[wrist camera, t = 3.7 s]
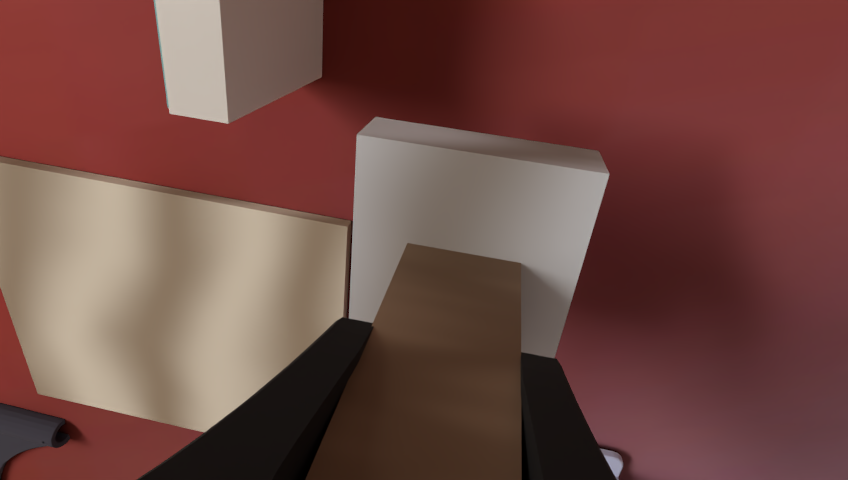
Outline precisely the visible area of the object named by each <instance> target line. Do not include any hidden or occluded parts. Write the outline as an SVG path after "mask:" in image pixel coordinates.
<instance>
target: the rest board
mask: <svg viewBox="0 0 848 480" xmlns="http://www.w3.org/2000/svg"><path fill="white" fill-rule="evenodd" d="M350 241H351V221H349V220H344V219H338V218H333V217H328V216H322V215H317V214H311V213H306V212H300V211H295V210H289V209H284V208H279V207H273V206H268V205H262V204H257V203H251V202H246V201H241V200H235V199H230V198H224V197H219V196H213V195H208V194H203V193H197V192H192V191H186V190H181V189H175V188H170V187H164V186H159V185H154V184H148V183H143V182H137V181H132V180H126V179H121V178H116V177H110V176H105V175H99V174H94V173H88V172H83V171H77V170H72V169H67V168H61V167H56V166H50V165H45V164H39V163H34V162H29V161H23V160H18V159H12V158H7V157H1V156H0V287H1V290H2V293H3V296H4V299H5V302H6V304H7V307H8V310H9V313H10V316H11V319H12V321H13V324H14V327H15V330H16V333H17V336H18V338H19V341H20V344H21V347H22V350H23V353H24V356H25V358H26V361H27V364H28V367H29V370H30V373H31V375H32V378H33V381H34V384H35V387H36V390H37V392H38V394H41V395H46V396H50V397H54V398H59V399H63V400H67V401H72V402H76V403H80V404H84V405H89V406H93V407H97V408H102V409H106V410H110V411H115V412H119V413H123V414H128V415H132V416H136V417H141V418H145V419H149V420H154V421H158V422H162V423H166V424H171V425H175V426H179V427H184V428H188V429H192V430H197V431H201V432H206V431H207V430H208V429H210V428H211V427H212V426H214V425H215V424H216V423H218V422H219V421H220V420H222V419H223V418H224V417H225V416H227V415H228V414H229V413H231V412H232V411H233V410H235V409H236V408H237V407H238V406H240V405H241V404H242V403H244V402H245V401H246V400H247V399H249V398H250V397H251V396H252V395H254V394H255V393H256V392H257V391H258V390H259V389H261V388H262V387H263V386H264V385H265V384H267V383H268V382H269V381H270V380H271V379H272V378H274V377H275V376H276V375H277V374H278V373H280V372H281V371H282V370H283V369H284V368H285V367H287V366H288V365H289V364H290V363H291V362H292V361H293V360H295V359H296V358H297V357H298V356H299V355H300V354H301V353H302V352H303V351H305V350H306V349H307V348H308V347H309V346H310V345H311V344H312V343H313V342H314V341H315V340H316V339H318V338H319V337H320V336H321V335H322V334H323V333H324V332H325V331H326V330H327V329H328V328H329V327H330V326H331V325H332V324H333V323H334V322H335V321H337V320H338V319H340V318H342V317H344V318H347V299H348V279H349V260H350Z"/></svg>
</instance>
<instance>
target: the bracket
mask: <svg viewBox="0 0 848 480" xmlns="http://www.w3.org/2000/svg"><path fill="white" fill-rule="evenodd" d="M63 424H65V419H62V418H58V417H54V416H50V415H46V414H42V413H38V412H34V411H30V410H26V409H23V408H19V407H15V406H11V405H7V404H3V403H0V480H1V474H2V471H3V468H4V466H5V464H6V462H7V461H8V460H9V459H10V458H12V457H13V456H15V455H16V454H18V453H20V452H23V451H25V450H29V449H32V448H37V447H43V446H50V447H55V448H58V447H61V446H63V445H64V444H66V443H67V442H68V440H69V439H70V436H69V435H68V434H65V433H61V432H57V431H58V430H59V428H60V427H61V426H62V425H63Z"/></svg>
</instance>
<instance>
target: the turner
mask: <svg viewBox="0 0 848 480" xmlns="http://www.w3.org/2000/svg"><path fill="white" fill-rule="evenodd" d="M608 178H609V172H608V170H607V168H606V165H605V163H604V161H603V159H602V157H601V155H600V152H599V151H596V150H590V149H583V148H577V147H570V146H563V145H557V144H550V143H544V142H537V141H531V140H524V139H518V138H511V137H504V136H498V135H491V134H485V133H478V132H472V131H465V130H459V129H452V128H445V127H439V126H432V125H426V124H419V123H413V122H406V121H399V120H393V119H386V118H380V117H375V118H374V119H373V120H372V121H371V122H370V123H369V124H368V125H366V126H365V127H364V128H363V129H362V130H361V131H360V132H359V133H358V134H357V142H356V165H355V188H354V211H353V234H352V257H351V279H350V302H349V318H350V319H355V320H360V321H365V322H370V323H373V324H372V326H374V327H373V330H372V332H371V334H370V337H369V339H368V341H367V344H366V346H365V349H364V351H363V353H362V356H361V358H360V360H359V362H358V364H357V366H356V368H355V369H354V371H353V373H352V375H351V376H350V378H349V380H348V382H347V384H346V386H345V389H344V391H343V393H342V396H341V398H340V400H339V403H338V405H337V407H336V410H335V412H334V414H333V416H332V419H331V421H330V423H329V426H328V428H327V430H326V433H325V435H324V437H323V440H322V442H321V444H320V447H319V449H318V451H317V454H316V456H315V458H314V461H313V463H312V465H311V467H310V470H309V472H308V474H307V477H306V479H305V480H522V447H521V352H524V353H529V354H534V355H539V356H544V357H549V358H555V354H556V351H557V348H558V344H559V341H560V338H561V334H562V331H563V328H564V324H565V321H566V318H567V314H568V311H569V308H570V304H571V301H572V298H573V294H574V291H575V288H576V284H577V281H578V278H579V274H580V271H581V268H582V264H583V261H584V258H585V254H586V251H587V248H588V244H589V241H590V238H591V234H592V231H593V228H594V224H595V221H596V218H597V214H598V211H599V208H600V204H601V201H602V198H603V194H604V191H605V188H606V184H607V181H608Z"/></svg>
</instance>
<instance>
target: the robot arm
mask: <svg viewBox="0 0 848 480" xmlns="http://www.w3.org/2000/svg"><path fill="white" fill-rule="evenodd" d="M372 324H373V323H370V322H365V321H360V320H355V319H350V318H344V317H342V318H340V319H338V320H337V321H335V322H334V323H333V324H332V325H331V326H330V327H329V328H328V329H327V330H326V331H325V332H324V333H323V334H322V335H321V336H320V337H319V338H318V339H316V340H315V341H314V342H313V343H312V344H311V345H310V346H309V347H308V348H307V349H306V350H305V351H303V352H302V353H301V354H300V355H299V356H298V357H297V358H296V359H295V360H293V361H292V362H291V363H290V364H289V365H288V366H287V367H285V368H284V369H283V370H282V371H281V372H280V373H278V374H277V375H276V376H275V377H274V378H272V379H271V380H270V381H269V382H268V383H267V384H265V385H264V386H263V387H262V388H261V389H259V390H258V391H257V392H256V393H255V394H254V395H252V396H251V397H250V398H249V399H247V400H246V401H245V402H244V403H242V404H241V405H240V406H238V407H237V408H236V409H235V410H233V411H232V412H231V413H229V414H228V415H227V416H225V417H224V418H223V419H222V420H220V421H219V422H218V423H216V424H215V425H214V426H212V427H211V428H210V429H208V430H207V431H206V432H205V433H203V434H202V435H201V436H199V437H198V438H197V439H195V440H194V441H192V442H191V443H190V444H188V445H187V446H185V447H184V448H183V449H181V450H180V451H178V452H177V453H176V454H174V455H173V456H171V457H170V458H168V459H167V460H165V461H164V462H162V463H161V464H160V465H158V466H157V467H155V468H154V469H152V470H151V471H149V472H147V473H146V474H144V475H143V476H141V477H140V478H138V479H137V480H305V479H306V477H307V474H308V472H309V470H310V467H311V465H312V463H313V461H314V458H315V456H316V454H317V451H318V449H319V447H320V444H321V442H322V440H323V437H324V435H325V433H326V430H327V428H328V426H329V423H330V421H331V419H332V416H333V414H334V412H335V410H336V407H337V405H338V403H339V400H340V398H341V396H342V393H343V391H344V389H345V386H346V384H347V382H348V380H349V378H350V376H351V375H352V373H353V371H354V369H355V368H356V366H357V364H358V362H359V360H360V358H361V356H362V353H363V351H364V349H365V346H366V344H367V341H368V339H369V337H370V334H371V332H372V330H373V327H374V326H372ZM521 447H522V480H619V478H618V477H619V475H620V473H621V470H622V468H623V461H622V457H621V455H620V454H618V453H617V452H614V451H610V450H605V449H601V448H599V446H598V444H597V442H596V440H595V438H594V436H593V434H592V432H591V430H590V428H589V426H588V424H587V422H586V420H585V418H584V415H583V413H582V411H581V409H580V407H579V405H578V403H577V401H576V399H575V396H574V394H573V392H572V390H571V388H570V385H569V383H568V381H567V378H566V376H565V374H564V371H563V369H562V366H561V365H560V363H559V362H558V360H557V359H555V358H549V357H544V356H539V355H534V354H529V353H524V352H521Z"/></svg>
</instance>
